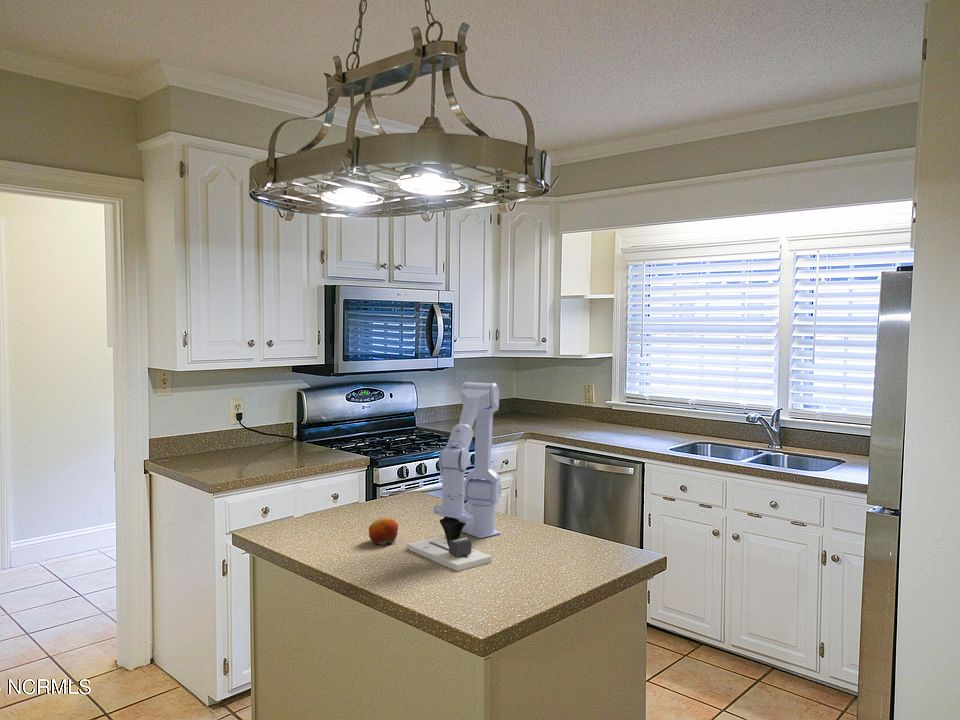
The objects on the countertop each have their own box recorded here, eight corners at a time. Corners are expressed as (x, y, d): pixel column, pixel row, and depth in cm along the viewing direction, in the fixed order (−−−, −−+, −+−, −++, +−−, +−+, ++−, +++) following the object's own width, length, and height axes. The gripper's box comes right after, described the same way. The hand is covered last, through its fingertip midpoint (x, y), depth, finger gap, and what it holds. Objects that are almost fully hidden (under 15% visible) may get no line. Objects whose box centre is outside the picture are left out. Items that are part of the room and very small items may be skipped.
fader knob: (448, 553, 186) (449, 539, 186) (462, 550, 189) (462, 536, 189) (457, 557, 184) (457, 542, 183) (471, 553, 186) (471, 539, 186)
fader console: (406, 549, 195) (406, 543, 195) (439, 541, 202) (439, 536, 202) (457, 571, 178) (457, 564, 178) (491, 562, 185) (491, 555, 185)
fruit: (383, 545, 194) (374, 516, 197) (369, 554, 199) (361, 526, 202) (408, 539, 199) (399, 511, 202) (394, 548, 205) (385, 521, 207)
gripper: (424, 491, 191) (423, 542, 192) (458, 502, 180) (457, 556, 181) (445, 487, 196) (445, 537, 196) (480, 497, 184) (479, 550, 185)
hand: (452, 546), depth 189 cm, fingers closed
